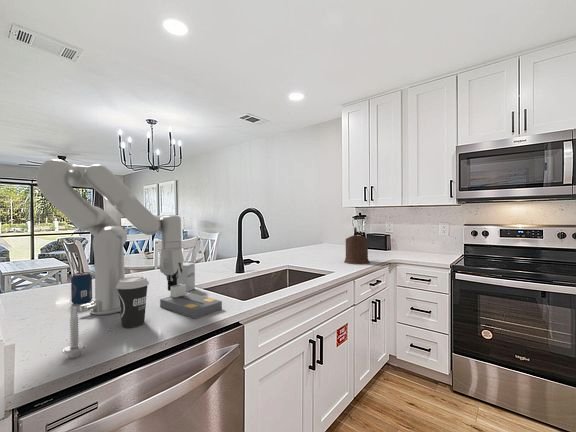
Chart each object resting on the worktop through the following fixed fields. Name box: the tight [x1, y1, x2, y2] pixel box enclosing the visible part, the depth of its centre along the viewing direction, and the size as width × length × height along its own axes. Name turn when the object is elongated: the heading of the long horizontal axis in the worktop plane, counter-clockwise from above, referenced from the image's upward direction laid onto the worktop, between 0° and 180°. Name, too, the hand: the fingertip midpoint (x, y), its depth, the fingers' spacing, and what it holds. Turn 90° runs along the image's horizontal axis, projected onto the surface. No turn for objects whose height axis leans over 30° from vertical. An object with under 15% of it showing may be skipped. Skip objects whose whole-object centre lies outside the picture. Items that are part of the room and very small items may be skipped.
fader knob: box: [169, 284, 186, 298], centre depth 113 cm, size 5×3×4 cm, turn 144°
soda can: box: [70, 271, 93, 306], centre depth 116 cm, size 7×7×12 cm
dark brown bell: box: [343, 226, 370, 266], centre depth 208 cm, size 18×24×25 cm
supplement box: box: [177, 262, 196, 293], centre depth 133 cm, size 7×7×13 cm
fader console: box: [159, 291, 223, 320], centre depth 108 cm, size 12×22×3 cm, turn 54°
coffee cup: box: [116, 275, 150, 329], centre depth 93 cm, size 10×10×15 cm
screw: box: [62, 305, 87, 359], centre depth 72 cm, size 13×5×5 cm
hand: (172, 289), depth 115 cm, fingers closed
